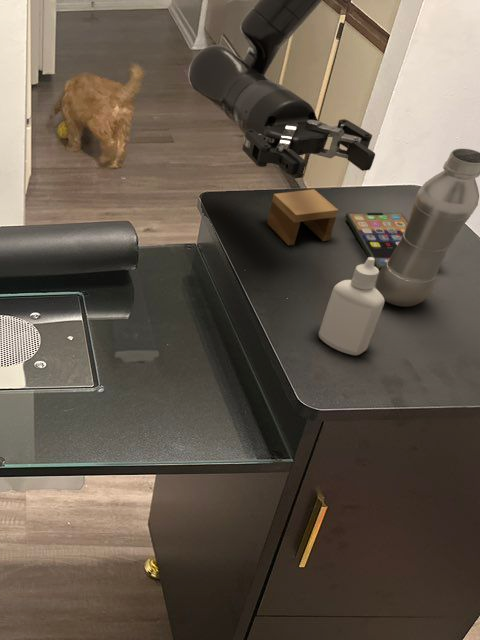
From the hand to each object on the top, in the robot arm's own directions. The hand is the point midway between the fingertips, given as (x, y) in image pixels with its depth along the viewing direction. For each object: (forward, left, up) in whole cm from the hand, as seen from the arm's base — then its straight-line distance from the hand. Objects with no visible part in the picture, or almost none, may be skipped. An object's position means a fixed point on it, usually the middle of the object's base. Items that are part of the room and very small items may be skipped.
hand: (335, 166), depth 85 cm
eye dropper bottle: (0, +11, -18) cm, 21 cm away
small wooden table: (-8, -16, -18) cm, 26 cm away
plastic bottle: (-12, +3, -18) cm, 22 cm away
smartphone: (-19, -10, -18) cm, 28 cm away
